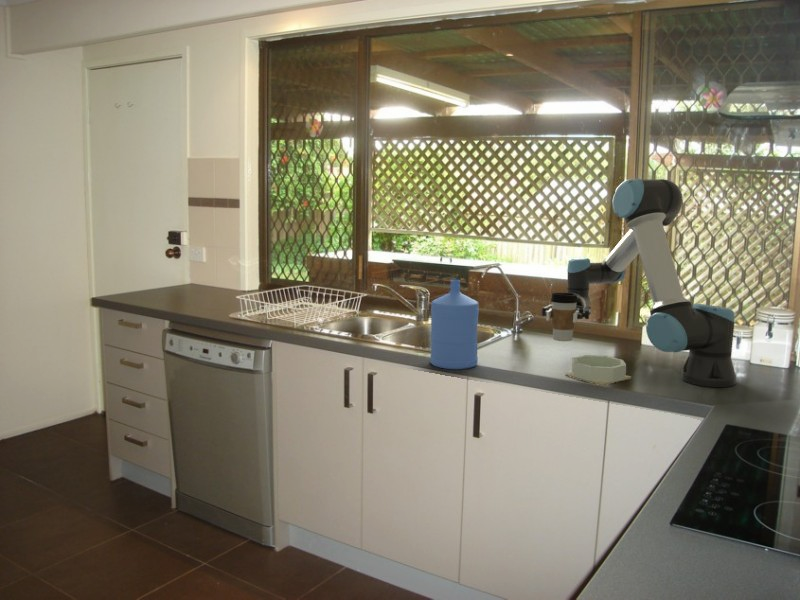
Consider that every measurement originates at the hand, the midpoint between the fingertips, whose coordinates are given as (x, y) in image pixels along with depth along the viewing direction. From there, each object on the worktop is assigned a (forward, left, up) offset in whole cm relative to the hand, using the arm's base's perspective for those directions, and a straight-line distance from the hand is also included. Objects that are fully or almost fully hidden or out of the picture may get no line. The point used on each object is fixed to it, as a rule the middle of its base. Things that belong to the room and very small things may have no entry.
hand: (560, 317), depth 212 cm
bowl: (-10, -6, -18) cm, 22 cm away
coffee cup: (+2, -4, -8) cm, 10 cm away
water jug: (+28, +20, -18) cm, 39 cm away
